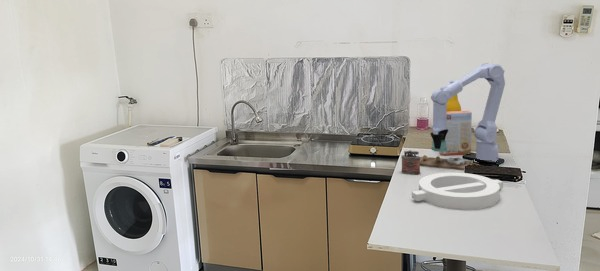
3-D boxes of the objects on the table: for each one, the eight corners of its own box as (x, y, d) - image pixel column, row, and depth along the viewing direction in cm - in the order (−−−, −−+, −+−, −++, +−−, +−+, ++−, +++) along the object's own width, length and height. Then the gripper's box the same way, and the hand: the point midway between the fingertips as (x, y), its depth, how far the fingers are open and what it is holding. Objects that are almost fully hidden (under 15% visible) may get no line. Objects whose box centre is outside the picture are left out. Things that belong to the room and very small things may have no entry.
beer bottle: (438, 141, 252) (439, 88, 246) (452, 139, 256) (453, 86, 250) (450, 144, 244) (452, 90, 238) (464, 142, 248) (465, 88, 241)
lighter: (400, 173, 200) (400, 150, 198) (402, 171, 203) (402, 149, 201) (419, 175, 196) (419, 152, 194) (421, 172, 199) (421, 150, 197)
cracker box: (467, 151, 228) (469, 110, 224) (471, 155, 223) (472, 112, 218) (438, 152, 230) (439, 111, 225) (441, 155, 224) (441, 113, 220)
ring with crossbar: (504, 189, 175) (504, 177, 174) (492, 215, 152) (492, 201, 151) (430, 180, 190) (430, 169, 189) (409, 203, 166) (409, 190, 165)
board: (471, 163, 209) (471, 155, 209) (465, 170, 199) (466, 162, 198) (421, 158, 221) (421, 151, 220) (413, 165, 211) (413, 157, 210)
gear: (448, 148, 209) (448, 140, 208) (444, 152, 204) (444, 143, 203) (433, 147, 212) (433, 139, 211) (430, 151, 207) (430, 142, 206)
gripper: (434, 113, 213) (434, 142, 216) (426, 119, 201) (426, 149, 204) (450, 114, 209) (449, 143, 212) (442, 120, 197) (442, 151, 200)
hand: (439, 146), depth 208 cm, fingers closed on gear, 6 cm apart
